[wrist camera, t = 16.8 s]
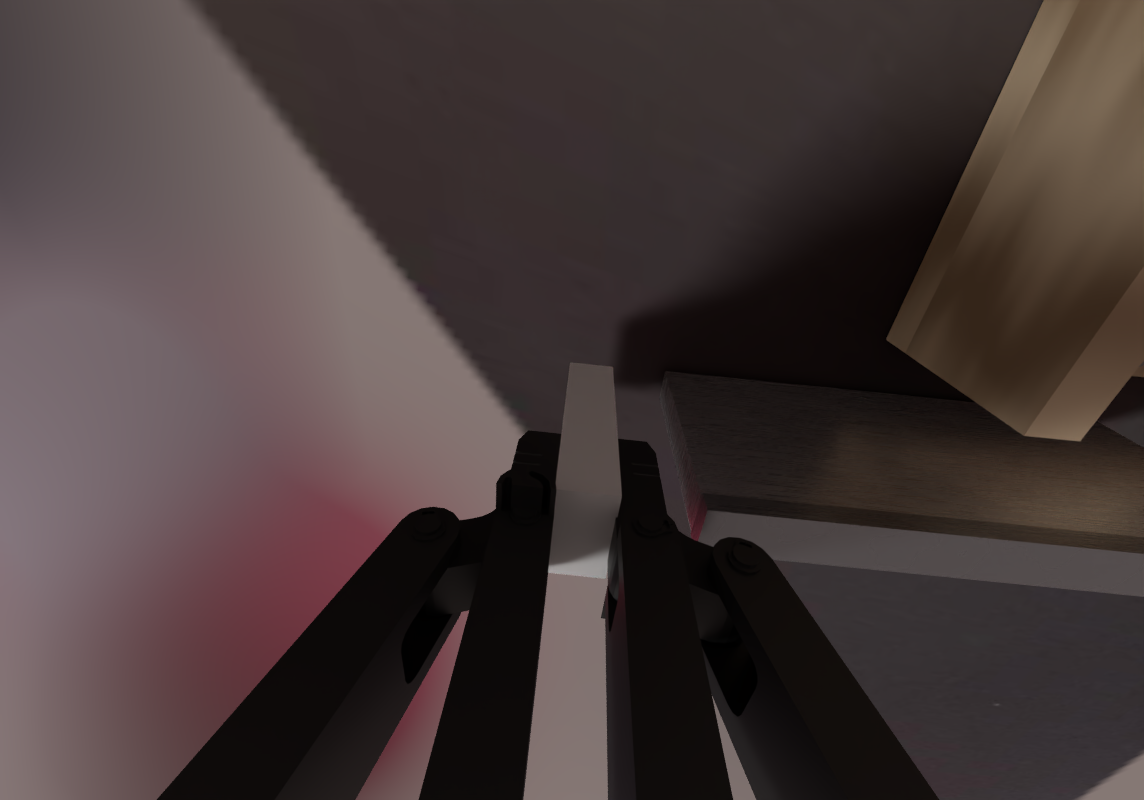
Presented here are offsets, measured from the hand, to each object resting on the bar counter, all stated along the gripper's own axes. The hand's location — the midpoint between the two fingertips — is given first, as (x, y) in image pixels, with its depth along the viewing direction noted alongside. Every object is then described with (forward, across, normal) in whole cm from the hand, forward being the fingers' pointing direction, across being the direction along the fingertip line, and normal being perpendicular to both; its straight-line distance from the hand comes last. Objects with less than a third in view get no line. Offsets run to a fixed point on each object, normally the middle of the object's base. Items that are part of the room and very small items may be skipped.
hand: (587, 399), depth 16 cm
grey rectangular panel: (+2, +11, 0) cm, 11 cm away
